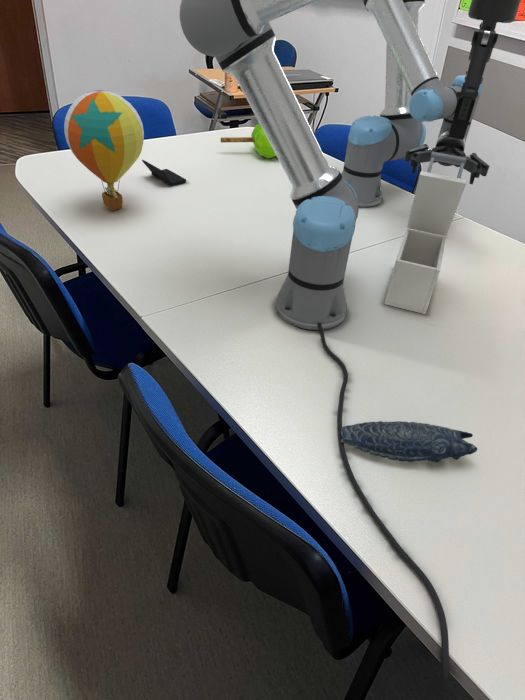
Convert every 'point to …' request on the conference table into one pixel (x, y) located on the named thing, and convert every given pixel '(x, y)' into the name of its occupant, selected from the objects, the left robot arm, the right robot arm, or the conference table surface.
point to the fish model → (407, 440)
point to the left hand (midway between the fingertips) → (457, 128)
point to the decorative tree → (256, 142)
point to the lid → (437, 197)
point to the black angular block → (165, 175)
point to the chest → (415, 271)
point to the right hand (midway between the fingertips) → (443, 173)
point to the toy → (105, 138)
